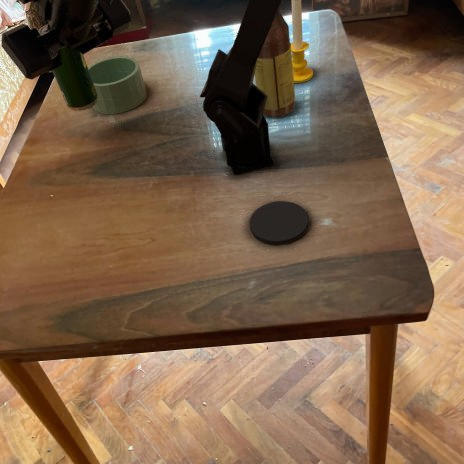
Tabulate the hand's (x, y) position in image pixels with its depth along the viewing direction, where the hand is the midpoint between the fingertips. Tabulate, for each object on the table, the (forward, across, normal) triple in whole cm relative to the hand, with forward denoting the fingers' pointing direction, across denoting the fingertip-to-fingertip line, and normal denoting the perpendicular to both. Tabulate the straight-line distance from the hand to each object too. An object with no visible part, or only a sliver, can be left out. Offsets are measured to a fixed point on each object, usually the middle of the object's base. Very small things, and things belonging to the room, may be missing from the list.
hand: (63, 61), depth 82 cm
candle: (-4, -34, +23) cm, 41 cm away
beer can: (+4, 0, +6) cm, 7 cm away
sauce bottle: (-7, -24, +26) cm, 35 cm away
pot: (+13, -10, +5) cm, 17 cm away
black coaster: (-20, -2, +39) cm, 44 cm away
